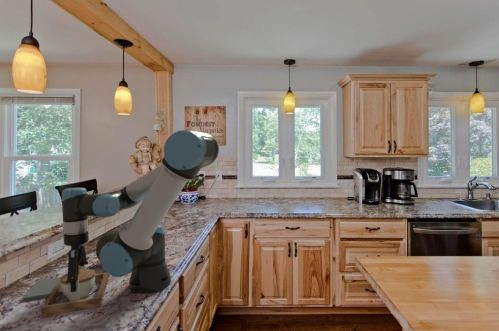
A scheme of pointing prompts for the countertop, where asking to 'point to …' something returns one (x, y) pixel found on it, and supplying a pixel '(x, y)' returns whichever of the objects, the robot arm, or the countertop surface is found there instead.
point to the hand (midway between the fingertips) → (78, 291)
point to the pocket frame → (74, 306)
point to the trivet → (42, 289)
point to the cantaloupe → (105, 241)
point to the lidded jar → (80, 283)
